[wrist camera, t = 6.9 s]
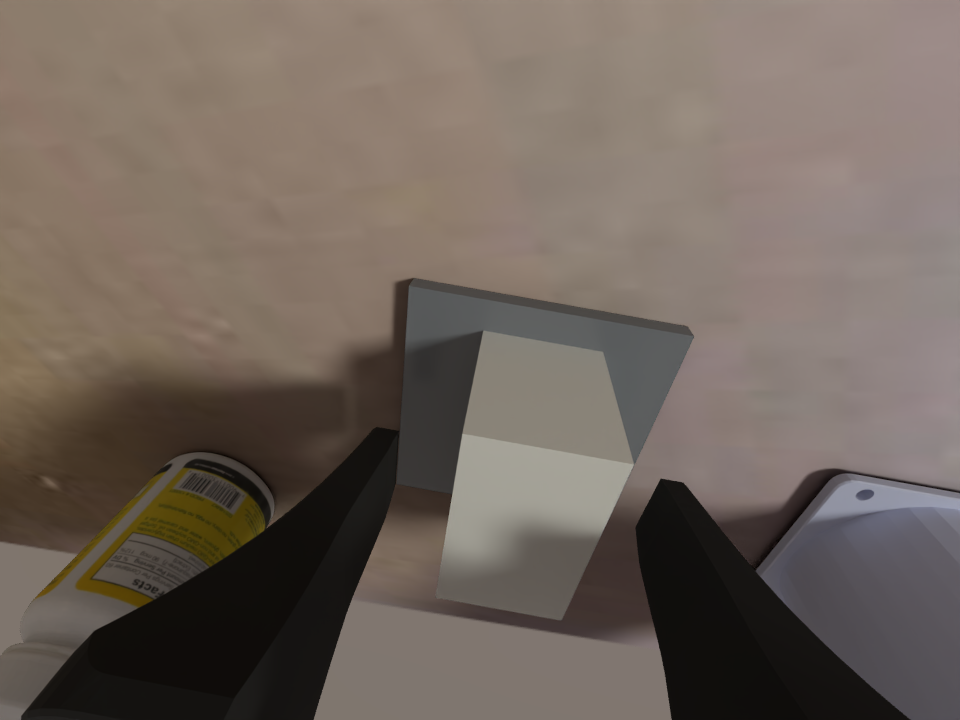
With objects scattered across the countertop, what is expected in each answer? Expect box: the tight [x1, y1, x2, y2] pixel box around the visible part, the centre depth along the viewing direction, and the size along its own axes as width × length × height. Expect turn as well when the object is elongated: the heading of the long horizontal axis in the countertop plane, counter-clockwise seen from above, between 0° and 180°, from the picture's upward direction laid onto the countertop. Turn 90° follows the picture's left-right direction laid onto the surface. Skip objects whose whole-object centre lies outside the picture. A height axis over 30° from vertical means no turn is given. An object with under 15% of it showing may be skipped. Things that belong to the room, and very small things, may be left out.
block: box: [435, 331, 634, 621], centre depth 13 cm, size 4×8×4 cm, turn 172°
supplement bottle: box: [0, 452, 274, 720], centre depth 15 cm, size 5×5×8 cm
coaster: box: [396, 278, 694, 521], centre depth 14 cm, size 8×8×1 cm
